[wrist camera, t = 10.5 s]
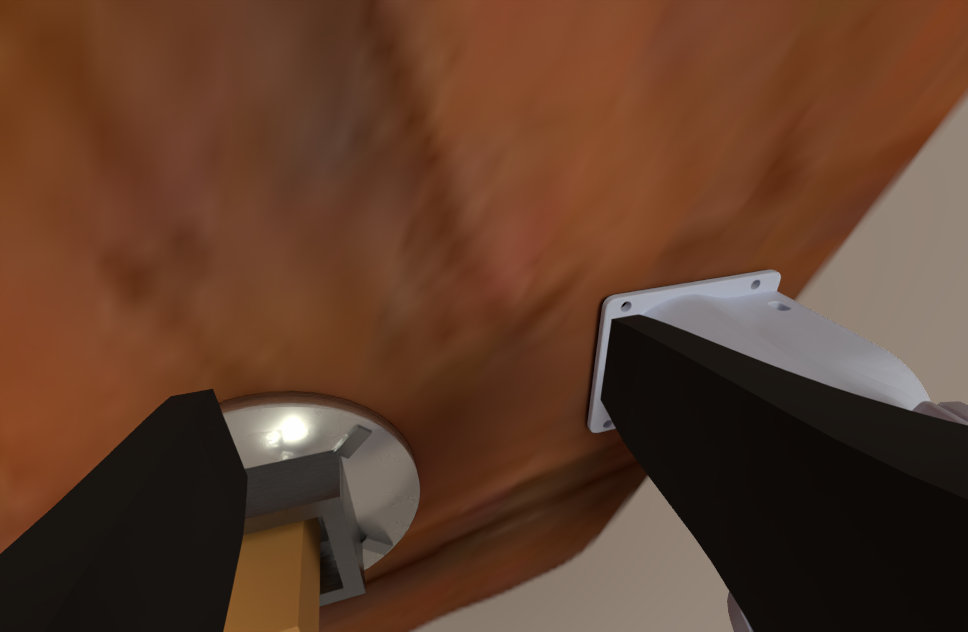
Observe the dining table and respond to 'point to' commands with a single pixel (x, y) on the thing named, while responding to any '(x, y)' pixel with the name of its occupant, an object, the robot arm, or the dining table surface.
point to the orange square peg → (277, 580)
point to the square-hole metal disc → (326, 478)
